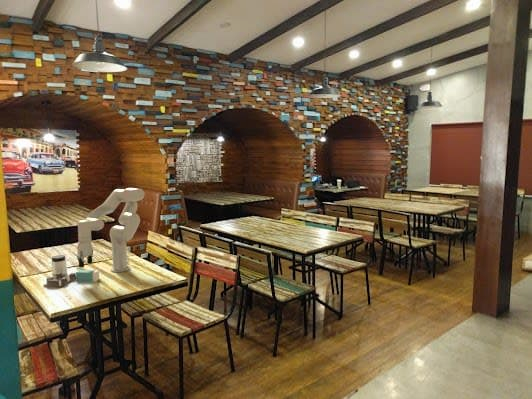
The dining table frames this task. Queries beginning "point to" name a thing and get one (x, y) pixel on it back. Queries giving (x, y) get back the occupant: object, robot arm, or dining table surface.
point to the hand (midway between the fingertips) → (85, 265)
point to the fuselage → (87, 275)
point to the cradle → (60, 280)
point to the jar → (59, 264)
